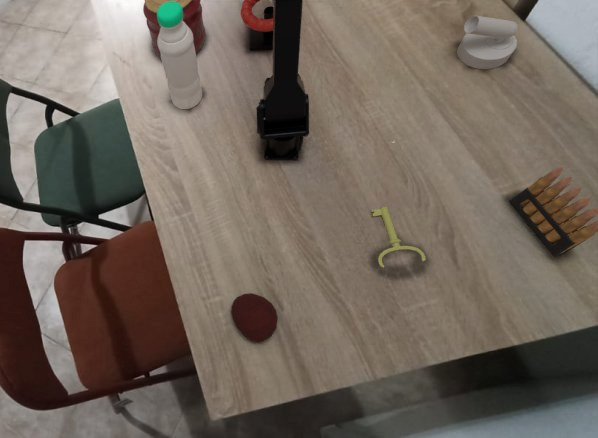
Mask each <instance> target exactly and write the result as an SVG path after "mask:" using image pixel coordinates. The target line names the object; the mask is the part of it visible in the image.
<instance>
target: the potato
mask: <svg viewBox="0 0 598 438" xmlns="http://www.w3.org/2000/svg"><path fill="white" fill-rule="evenodd" d="M230 310H231V312H230V313H231V317H232V320H233V322H234V325H235V326H236V328H237V329H238V330H239V332H240V333H242V335H243V336H244V337H245V338H247V339H248V340H250V341H251V342H254V343H262V342H265V341H267V340H268V339H269V338H271V337H272V336H273V334H274V332H275V331H276V329H277V325H278V321H279V318H278V313H277V309H276V308H275V306H274V305H273V303H272V302H271V301H270V300H268V299H267V298H266V297H264V296H262V295H259V294H256V293H252V292H250V293H242V294H241V295H238V296H237V297H236V298H235V299H234V300H233V301H232V304H231V308H230Z"/></svg>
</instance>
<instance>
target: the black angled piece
mask: <svg viewBox="0 0 598 438" xmlns="http://www.w3.org/2000/svg"><path fill="white" fill-rule="evenodd" d="M273 8H274V6H273V5H269V6H265V8H263V19H272V18H273ZM249 37H250V38H249V52H253V51H255V52H256V51H269V50H271V51H273V31H268V32H262V31H256V30H253V29H251V28H250V36H249Z"/></svg>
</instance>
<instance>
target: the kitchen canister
mask: <svg viewBox="0 0 598 438" xmlns="http://www.w3.org/2000/svg"><path fill="white" fill-rule="evenodd" d="M170 1H175V2H177V3H179V4H180V5H181V7H182V9H183V21H184V22H185V24H186V25H187V26H188V27H189V28H190V29H191V31H192V33H193V43H194V47H195V52H196V54H198V53H199V52H200V50H202V48H203V46H204V44H205V38H206V28H205V25H204V21H203V20H204V19H203V7H202V4H201V0H144V3H143V8H142V11H143V15H144V17H145V18H146V26H147V28H148V31H149V34H150V38H151V45H152V48H153V50H154V52H155V54H156V55H157V56H158V57H159V58H160V59H161V54H160V50H159V48H158V44H157V40H158V35H159V33H160V28H161V26H160V24H159V22H158V19H157V11H158V8H159V7H160V6H161V5H162V4H164V3H166V2H170Z"/></svg>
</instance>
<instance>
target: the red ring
mask: <svg viewBox="0 0 598 438" xmlns="http://www.w3.org/2000/svg"><path fill="white" fill-rule="evenodd" d="M260 1H261V0H243V1H242V3H241V7H240V12H239V13H240V18H241V20H242V22H243V24H244V25H245V26H246V27H248V28H250V30H251V29H253V30H256V31H262V32H268V31H273V18H272V19H264V18H260V17H257V16H256V15H254V13H253V8H254V6H255V5H256V4H257V3H259V2H260Z"/></svg>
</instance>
